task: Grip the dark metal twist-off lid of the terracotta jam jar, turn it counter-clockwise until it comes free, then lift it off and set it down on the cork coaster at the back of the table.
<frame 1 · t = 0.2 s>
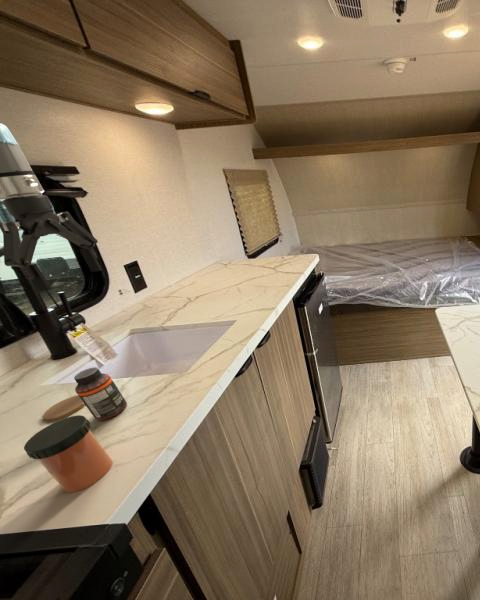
hand: (73, 279, 84), 26 cm above the worktop, tool pointing down, fingers open, 13 cm apart
jam lid: (57, 434, 53), point 10 cm above the worktop, screwed on, not yet turned
jam jar: (89, 474, 58), on the worktop
coaster: (67, 408, 76), on the worktop
supplement bottle: (112, 412, 73), on the worktop
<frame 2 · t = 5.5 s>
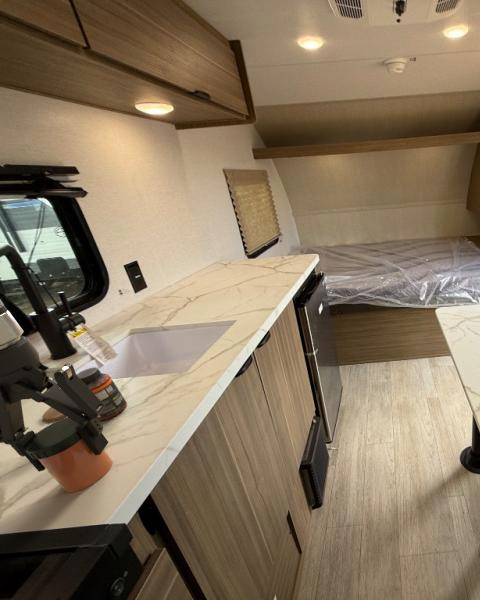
hand: (74, 456, 56), 5 cm above the worktop, tool pointing down, fingers closed on jam lid, 8 cm apart
jam lid: (57, 434, 53), point 10 cm above the worktop, screwed on, not yet turned, touching gripper
everything else where it was.
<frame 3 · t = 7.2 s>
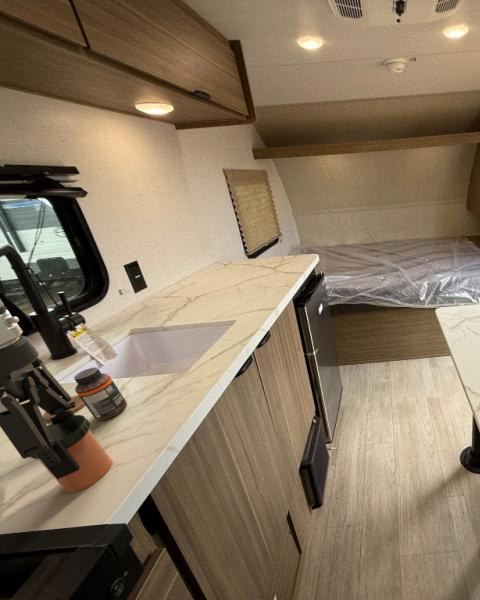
hand: (74, 456, 56), 5 cm above the worktop, tool pointing down, fingers closed on jam lid, 8 cm apart
jam lid: (56, 433, 53), point 10 cm above the worktop, off its thread, touching gripper
everything else where it was.
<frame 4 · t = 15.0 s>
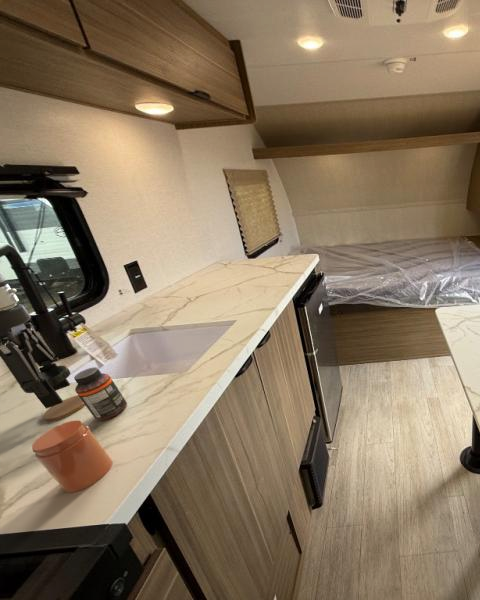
hand: (58, 395, 75), 4 cm above the worktop, tool pointing down, fingers closed on jam lid, 7 cm apart
jam lid: (45, 377, 72), point 9 cm above the worktop, off its thread, touching gripper
everything else where it was.
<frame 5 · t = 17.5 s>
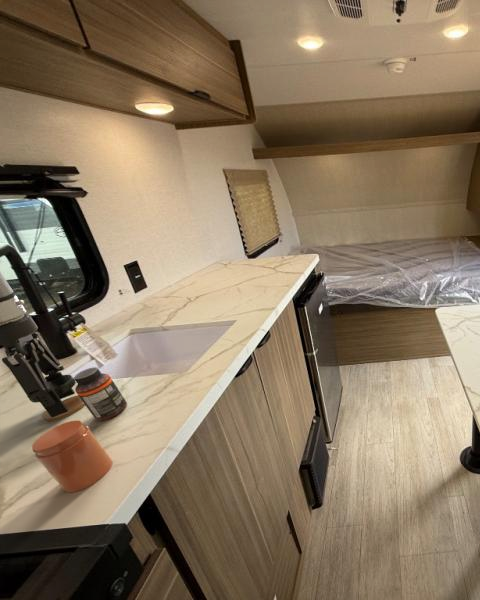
hand: (63, 404, 76), 1 cm above the worktop, tool pointing down, fingers closed on jam lid, 7 cm apart
jam lid: (50, 386, 74), point 7 cm above the worktop, off its thread, touching gripper
everything else where it was.
when the fingers open (2 cm above the worktop, at t = 24.5 s): jam lid drops 6 cm, resting on coaster.
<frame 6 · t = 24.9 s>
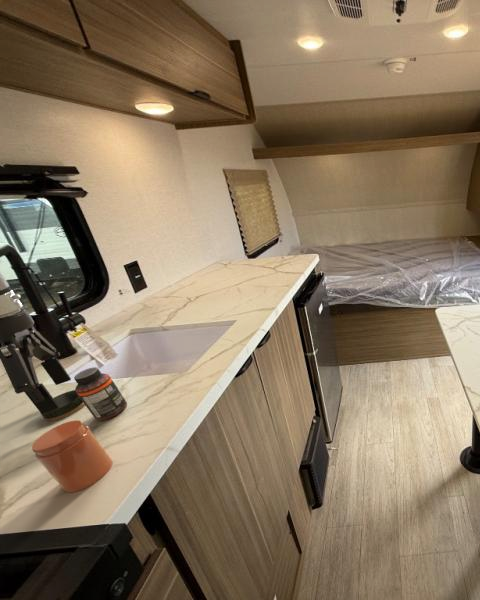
hand: (57, 395, 75), 4 cm above the worktop, tool pointing down, fingers open, 13 cm apart
jam lid: (62, 401, 75), point 2 cm above the worktop, off its thread, touching coaster
everything else where it was.
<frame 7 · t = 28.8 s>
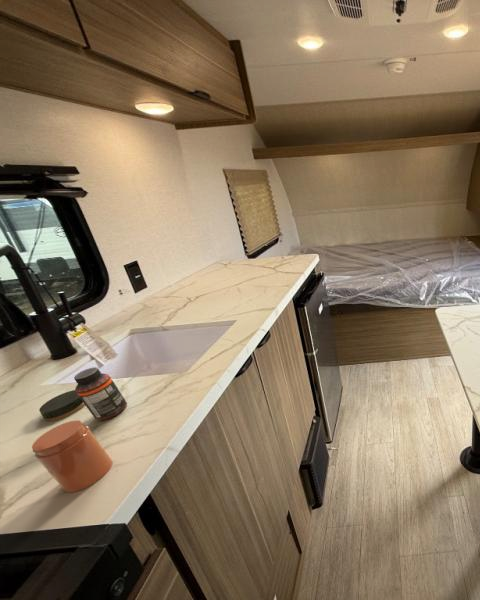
nothing on the worktop moved.
at the end: jam lid came off its thread; jam lid inside the target area on the coaster (0.1 cm from its centre), point 2.2 cm above the coaster's base; the gripper is holding nothing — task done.
